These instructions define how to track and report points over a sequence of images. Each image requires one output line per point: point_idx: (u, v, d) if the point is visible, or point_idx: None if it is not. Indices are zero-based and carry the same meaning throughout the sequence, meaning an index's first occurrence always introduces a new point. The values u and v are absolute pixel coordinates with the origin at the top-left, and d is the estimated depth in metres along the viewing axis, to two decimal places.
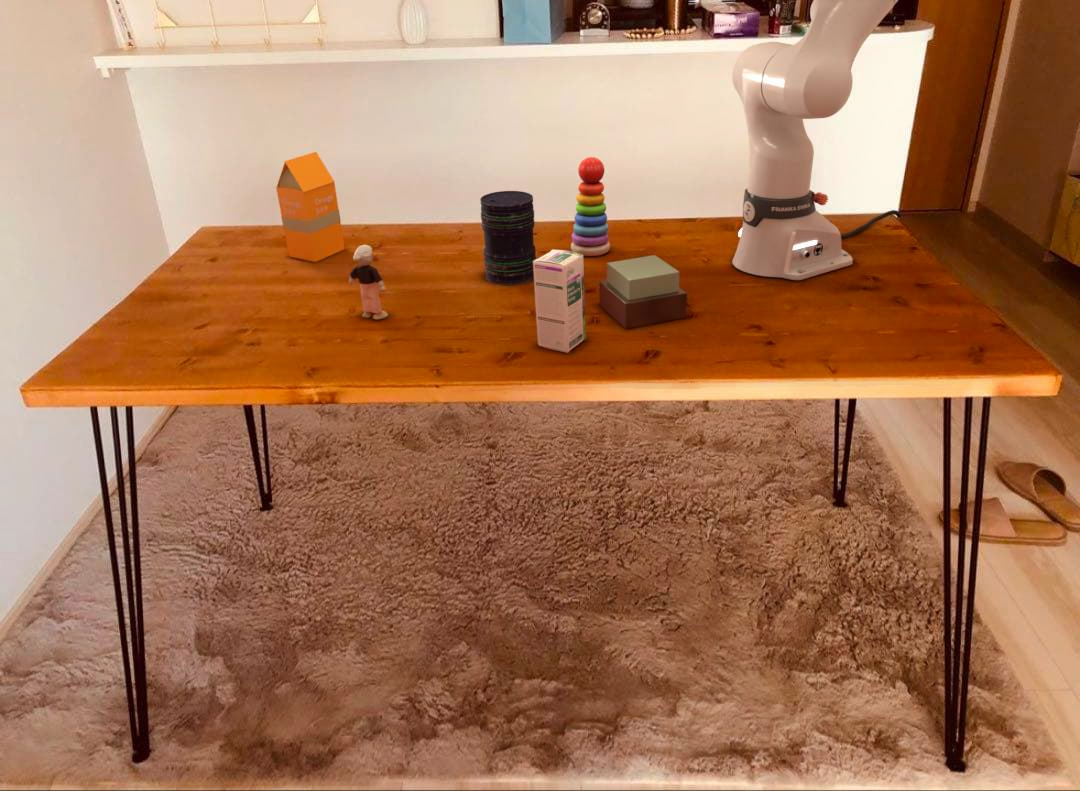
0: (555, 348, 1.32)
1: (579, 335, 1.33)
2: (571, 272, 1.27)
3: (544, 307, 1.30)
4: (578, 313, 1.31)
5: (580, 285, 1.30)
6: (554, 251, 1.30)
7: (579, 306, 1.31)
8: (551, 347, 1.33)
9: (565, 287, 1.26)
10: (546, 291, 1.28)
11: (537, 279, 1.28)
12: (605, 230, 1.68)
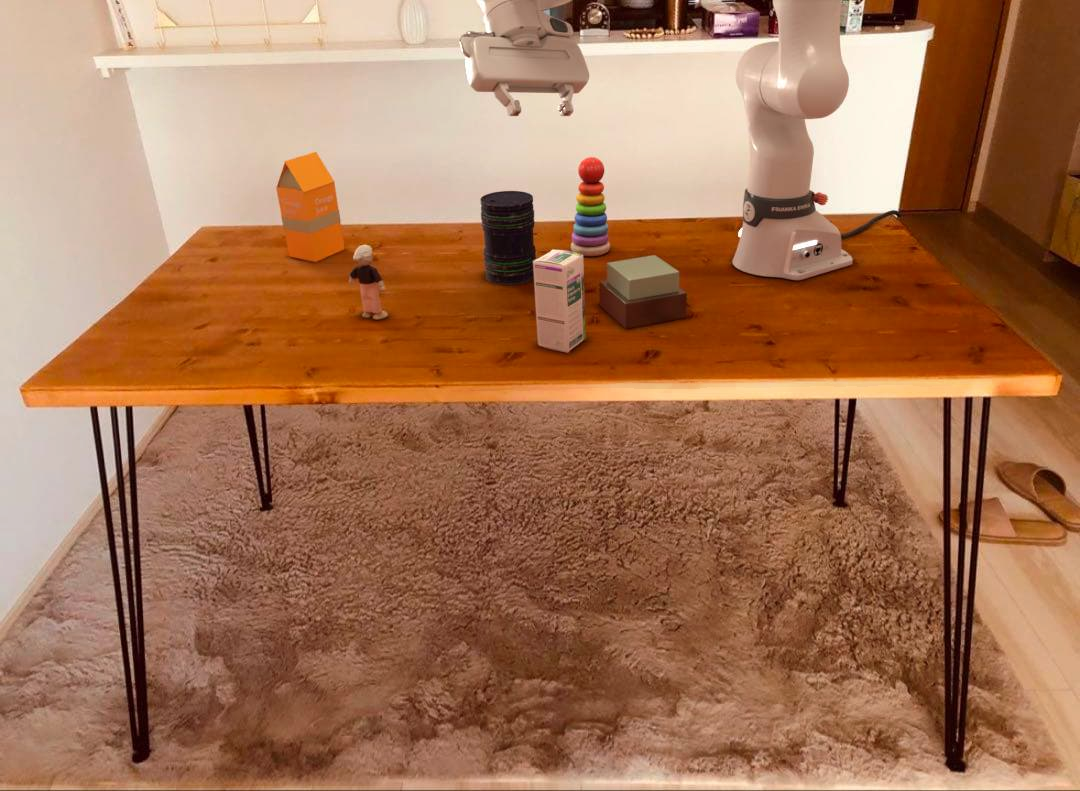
0: (555, 348, 1.32)
1: (579, 335, 1.33)
2: (571, 272, 1.27)
3: (544, 307, 1.30)
4: (578, 313, 1.31)
5: (580, 285, 1.30)
6: (554, 251, 1.30)
7: (579, 306, 1.31)
8: (551, 347, 1.33)
9: (565, 287, 1.26)
10: (546, 291, 1.28)
11: (537, 279, 1.28)
12: (605, 230, 1.68)
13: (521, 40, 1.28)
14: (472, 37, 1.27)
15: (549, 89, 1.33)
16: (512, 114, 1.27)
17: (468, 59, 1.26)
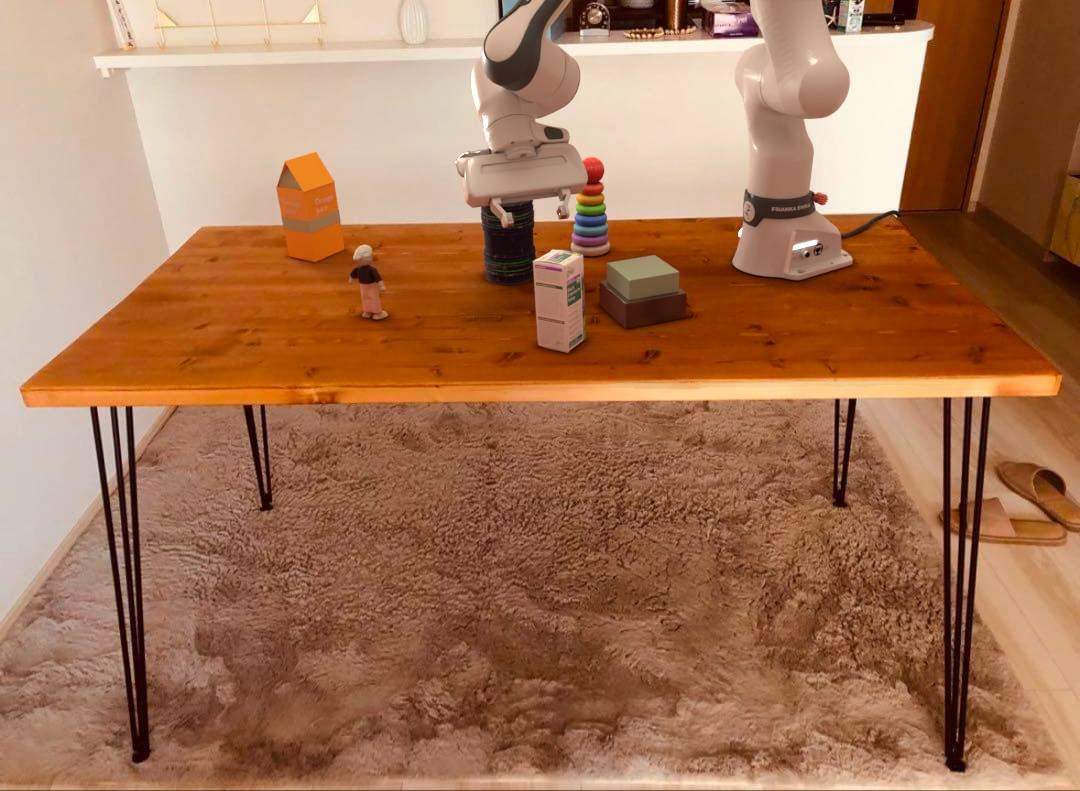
0: (555, 348, 1.32)
1: (579, 335, 1.33)
2: (571, 272, 1.27)
3: (544, 307, 1.30)
4: (578, 313, 1.31)
5: (580, 285, 1.30)
6: (554, 251, 1.30)
7: (579, 306, 1.31)
8: (551, 347, 1.33)
9: (565, 287, 1.26)
10: (546, 291, 1.28)
11: (537, 279, 1.28)
12: (605, 230, 1.68)
13: (513, 154, 1.34)
14: (468, 157, 1.35)
15: (548, 194, 1.38)
16: (505, 226, 1.33)
17: (463, 179, 1.34)
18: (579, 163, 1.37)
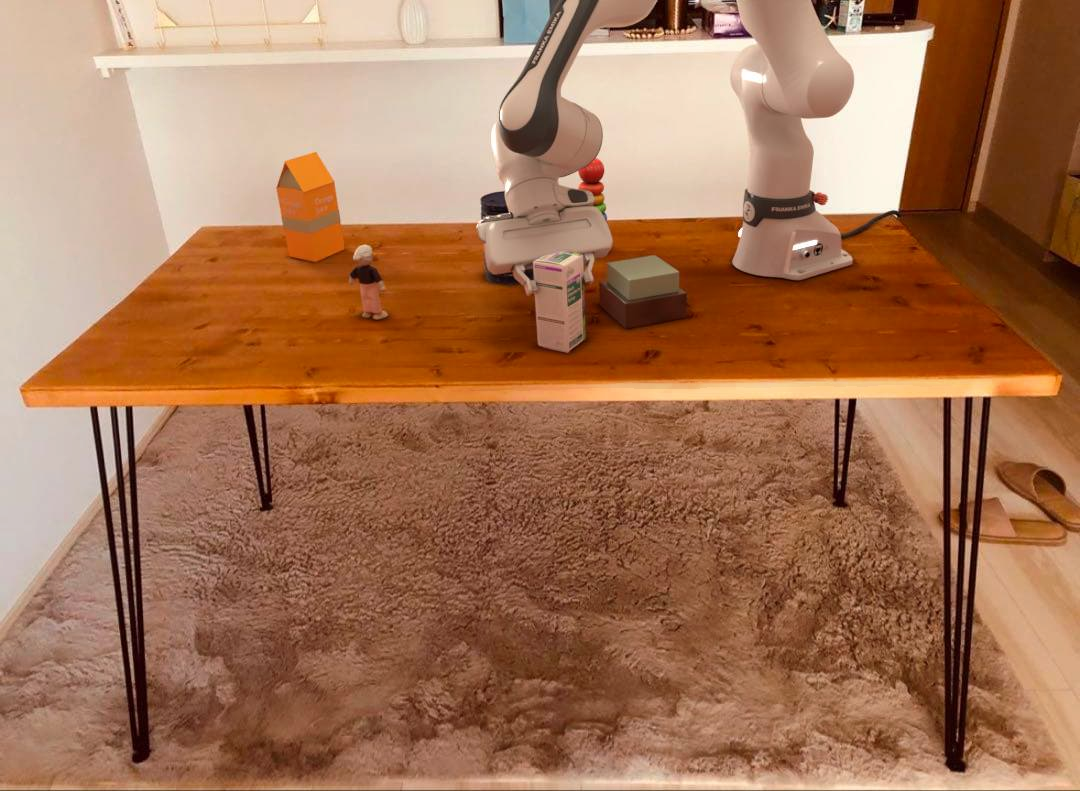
0: (555, 348, 1.32)
1: (579, 336, 1.33)
2: (571, 272, 1.27)
3: (544, 307, 1.30)
4: (578, 313, 1.31)
5: (580, 285, 1.30)
6: None
7: (579, 306, 1.31)
8: (551, 347, 1.33)
9: (565, 287, 1.26)
10: (545, 291, 1.28)
11: (537, 279, 1.28)
12: None
13: (537, 218, 1.29)
14: (489, 222, 1.30)
15: None
16: (529, 294, 1.28)
17: (485, 244, 1.29)
18: (604, 227, 1.32)
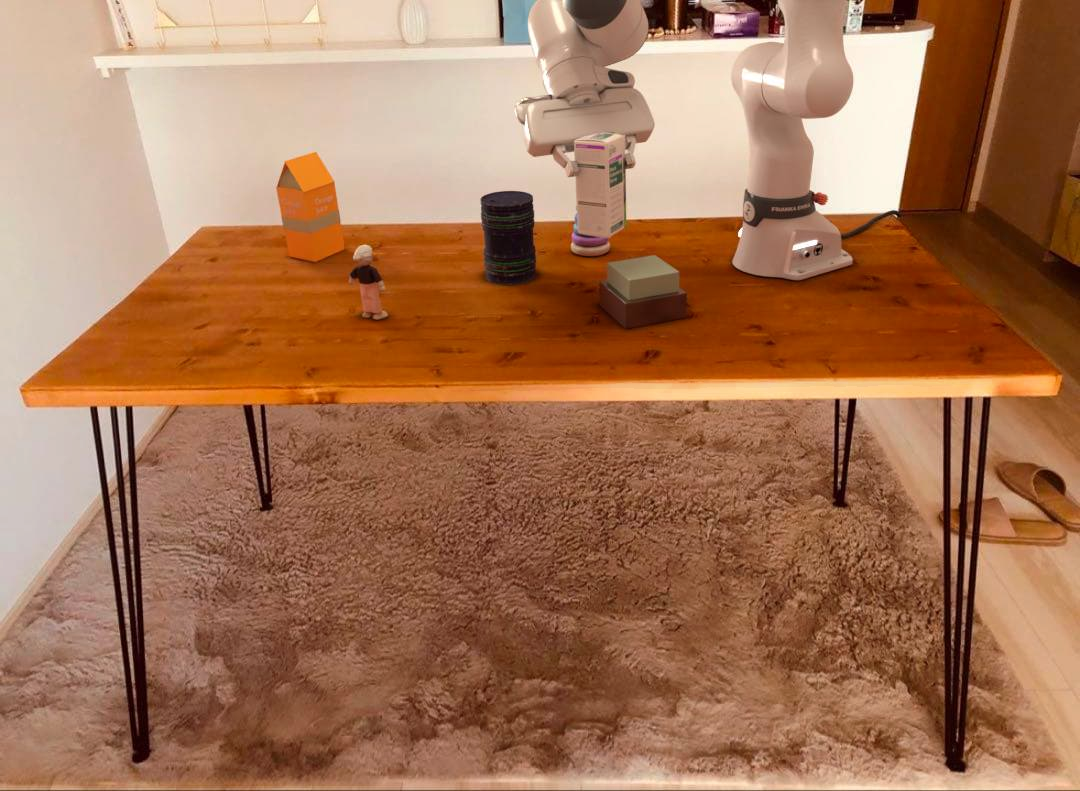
0: (596, 234, 1.29)
1: (620, 222, 1.30)
2: (613, 151, 1.23)
3: (585, 190, 1.26)
4: (619, 197, 1.28)
5: (622, 167, 1.26)
6: None
7: (621, 190, 1.28)
8: (592, 233, 1.29)
9: (607, 166, 1.23)
10: (587, 172, 1.25)
11: (578, 160, 1.25)
12: None
13: (577, 99, 1.26)
14: (528, 103, 1.27)
15: None
16: (570, 175, 1.25)
17: (524, 126, 1.26)
18: (645, 109, 1.29)
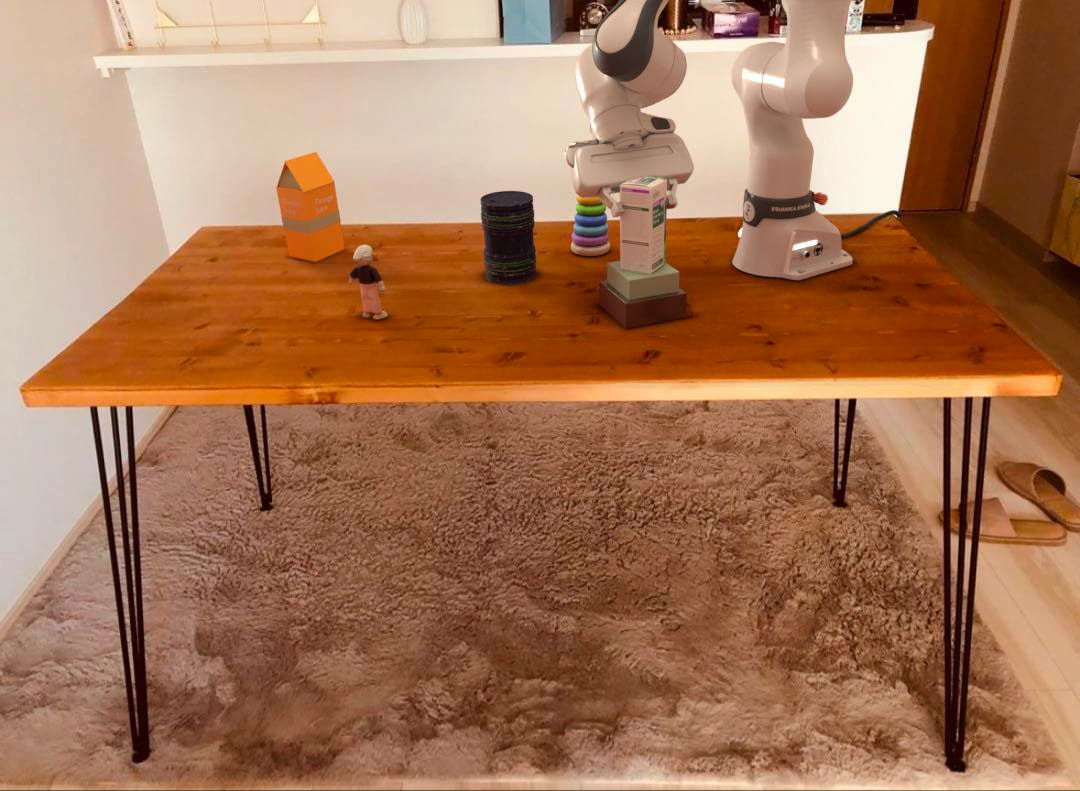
0: (638, 271, 1.38)
1: (660, 259, 1.39)
2: (657, 195, 1.32)
3: (629, 230, 1.36)
4: (660, 236, 1.37)
5: (663, 209, 1.36)
6: None
7: (662, 230, 1.37)
8: (634, 270, 1.38)
9: (651, 209, 1.32)
10: (631, 214, 1.34)
11: (623, 202, 1.34)
12: (605, 230, 1.68)
13: (622, 144, 1.35)
14: (576, 147, 1.36)
15: None
16: (616, 215, 1.34)
17: (573, 169, 1.35)
18: (685, 153, 1.38)
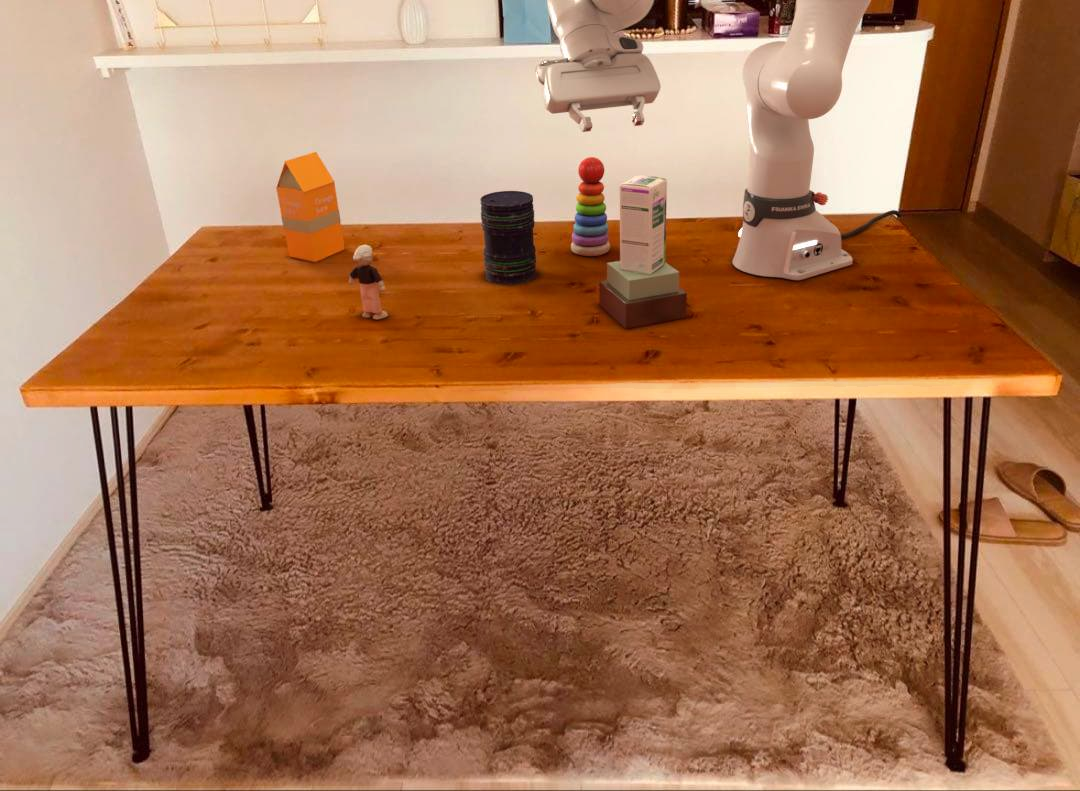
0: (638, 271, 1.38)
1: (660, 259, 1.39)
2: (656, 195, 1.32)
3: (629, 230, 1.36)
4: (660, 236, 1.37)
5: (663, 209, 1.36)
6: (638, 176, 1.36)
7: (662, 230, 1.37)
8: (634, 270, 1.38)
9: (651, 209, 1.32)
10: (631, 214, 1.34)
11: (623, 202, 1.34)
12: (605, 230, 1.68)
13: (591, 62, 1.40)
14: (547, 65, 1.41)
15: (623, 102, 1.44)
16: (584, 130, 1.39)
17: (543, 86, 1.40)
18: (652, 72, 1.43)
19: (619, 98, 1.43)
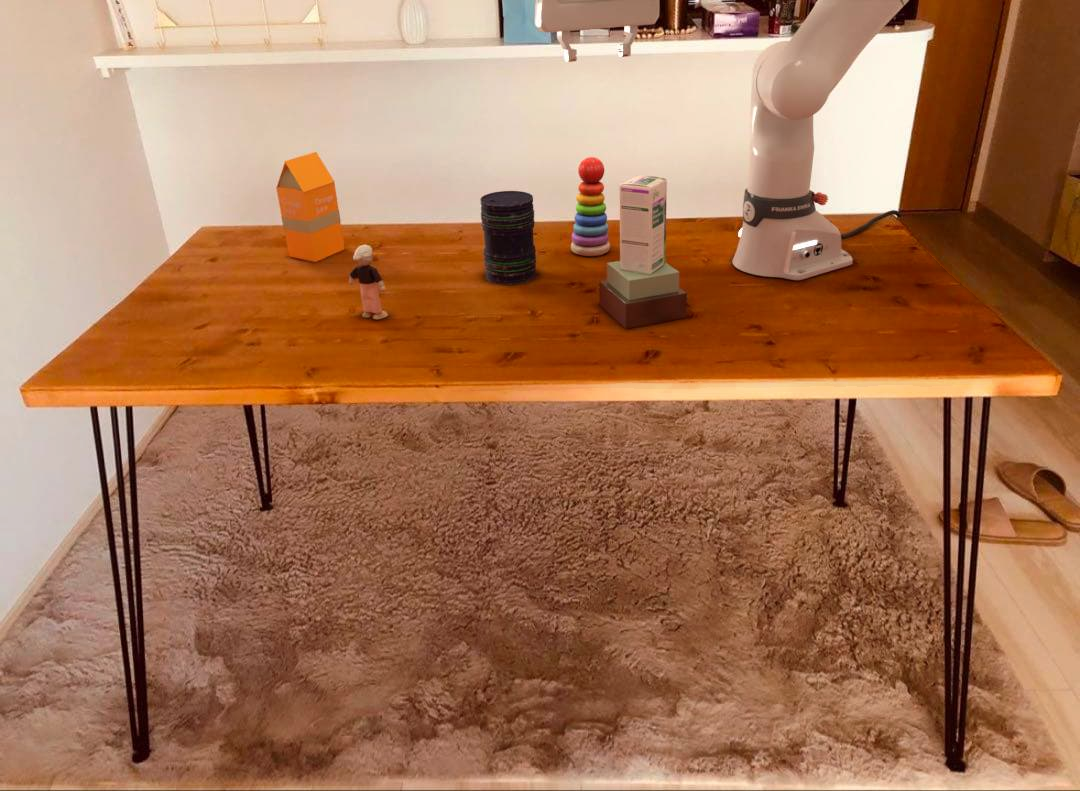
0: (638, 271, 1.38)
1: (660, 259, 1.39)
2: (656, 195, 1.32)
3: (629, 230, 1.36)
4: (660, 236, 1.37)
5: (663, 209, 1.36)
6: (638, 176, 1.36)
7: (662, 230, 1.37)
8: (634, 270, 1.38)
9: (650, 209, 1.32)
10: (631, 214, 1.34)
11: (623, 202, 1.34)
12: (605, 230, 1.68)
13: None
14: None
15: None
16: None
17: None
18: (655, 1, 1.33)
19: None
